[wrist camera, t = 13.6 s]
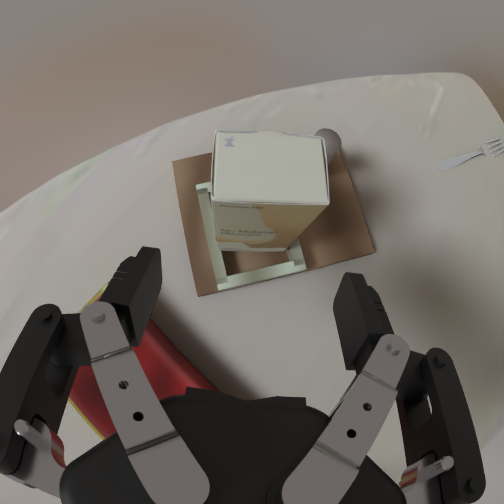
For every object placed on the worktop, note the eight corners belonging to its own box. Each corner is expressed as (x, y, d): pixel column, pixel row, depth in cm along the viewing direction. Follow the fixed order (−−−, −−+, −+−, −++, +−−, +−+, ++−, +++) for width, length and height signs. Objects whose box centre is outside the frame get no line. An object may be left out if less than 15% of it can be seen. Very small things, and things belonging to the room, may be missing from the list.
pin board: (330, 138, 32) (350, 103, 25) (370, 254, 29) (404, 238, 23) (173, 165, 30) (160, 129, 23) (198, 296, 27) (188, 292, 21)
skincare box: (215, 251, 26) (202, 202, 14) (217, 204, 27) (207, 127, 15) (288, 252, 26) (333, 206, 14) (287, 206, 27) (325, 133, 15)
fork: (418, 163, 33) (425, 157, 31) (494, 138, 36) (499, 134, 34) (429, 184, 32) (437, 179, 31) (502, 154, 36) (508, 150, 34)
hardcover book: (125, 283, 28) (109, 279, 24) (269, 432, 26) (275, 449, 22) (57, 354, 25) (36, 358, 21) (189, 491, 23) (184, 511, 19)
